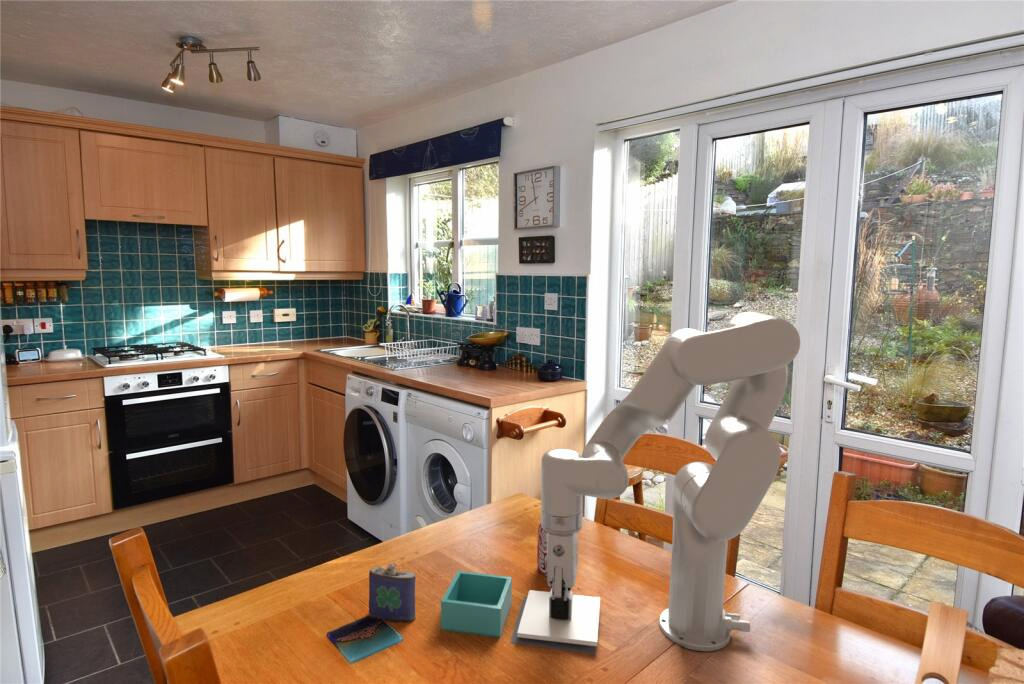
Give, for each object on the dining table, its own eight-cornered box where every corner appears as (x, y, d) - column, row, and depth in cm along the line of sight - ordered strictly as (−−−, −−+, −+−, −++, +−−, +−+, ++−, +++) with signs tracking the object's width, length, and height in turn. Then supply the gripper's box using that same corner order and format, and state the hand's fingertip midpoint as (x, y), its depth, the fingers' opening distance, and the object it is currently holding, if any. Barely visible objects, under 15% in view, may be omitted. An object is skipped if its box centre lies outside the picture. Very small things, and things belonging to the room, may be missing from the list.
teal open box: (511, 605, 115) (512, 577, 114) (500, 640, 105) (500, 608, 104) (457, 598, 117) (457, 570, 116) (440, 632, 107) (441, 601, 106)
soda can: (567, 582, 124) (569, 529, 123) (534, 578, 125) (535, 525, 124) (570, 566, 131) (572, 515, 129) (539, 562, 132) (540, 512, 131)
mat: (599, 608, 115) (599, 605, 115) (595, 657, 100) (595, 654, 100) (524, 598, 118) (524, 596, 118) (510, 645, 103) (510, 642, 103)
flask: (417, 616, 111) (417, 563, 110) (411, 625, 108) (411, 570, 107) (372, 609, 113) (371, 557, 112) (365, 618, 110) (364, 564, 109)
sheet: (600, 601, 114) (600, 577, 114) (597, 646, 101) (597, 620, 100) (529, 593, 117) (529, 571, 116) (517, 637, 103) (517, 611, 103)
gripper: (579, 540, 98) (577, 642, 100) (585, 501, 114) (584, 590, 116) (534, 536, 99) (534, 637, 102) (546, 499, 115) (546, 587, 117)
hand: (560, 611), depth 109 cm, fingers closed on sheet, 3 cm apart
